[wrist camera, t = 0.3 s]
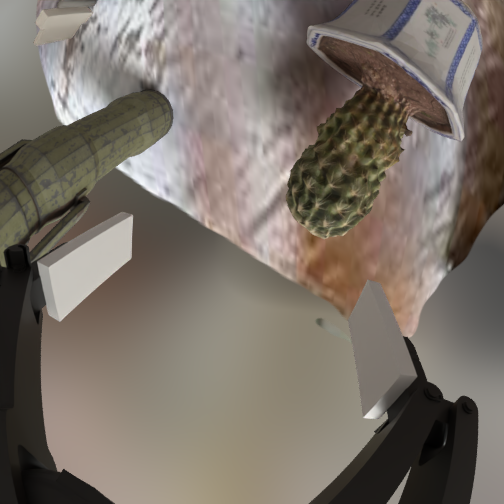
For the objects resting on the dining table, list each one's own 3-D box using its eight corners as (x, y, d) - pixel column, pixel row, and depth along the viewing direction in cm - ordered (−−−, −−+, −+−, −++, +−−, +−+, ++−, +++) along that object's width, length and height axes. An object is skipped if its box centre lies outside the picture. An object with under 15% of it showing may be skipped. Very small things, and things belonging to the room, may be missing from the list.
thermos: (133, 75, 32) (-85, 195, 7) (191, 112, 36) (-23, 291, 10) (113, 119, 38) (-62, 254, 12) (165, 155, 41) (2, 331, 15)
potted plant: (372, -78, 6) (208, 224, 20) (529, 54, 8) (395, 307, 23) (335, -12, 21) (239, 171, 35) (445, 60, 23) (354, 227, 38)
